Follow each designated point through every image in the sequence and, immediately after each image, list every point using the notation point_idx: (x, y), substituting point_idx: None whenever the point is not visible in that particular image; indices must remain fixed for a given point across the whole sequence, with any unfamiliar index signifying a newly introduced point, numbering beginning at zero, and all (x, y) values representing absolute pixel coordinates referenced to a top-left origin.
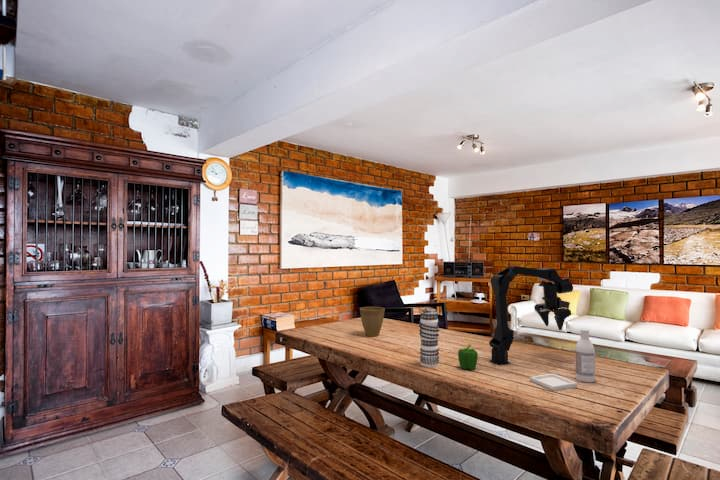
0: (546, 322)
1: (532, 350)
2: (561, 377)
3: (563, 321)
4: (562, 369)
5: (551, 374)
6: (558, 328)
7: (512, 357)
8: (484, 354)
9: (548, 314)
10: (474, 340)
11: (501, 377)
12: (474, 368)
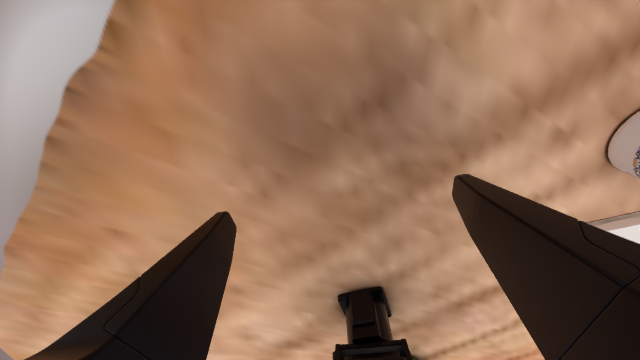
0: (222, 258)
1: (194, 154)
2: (618, 232)
3: (627, 252)
4: (495, 157)
5: None
6: (462, 215)
7: (312, 259)
8: (279, 313)
9: (104, 348)
10: (94, 296)
11: (489, 331)
12: (412, 357)
